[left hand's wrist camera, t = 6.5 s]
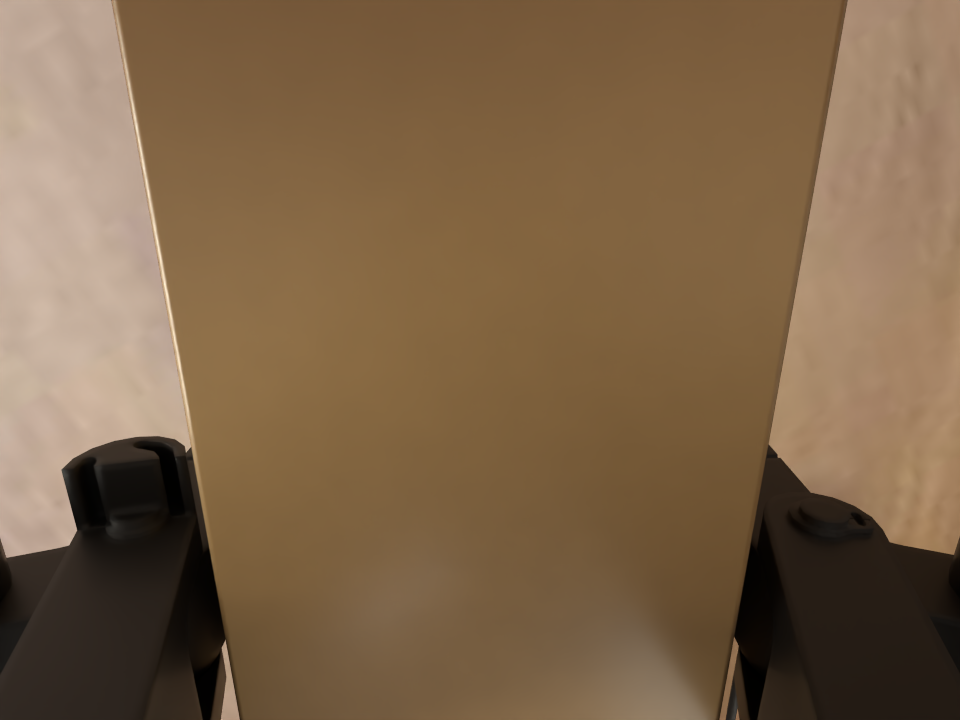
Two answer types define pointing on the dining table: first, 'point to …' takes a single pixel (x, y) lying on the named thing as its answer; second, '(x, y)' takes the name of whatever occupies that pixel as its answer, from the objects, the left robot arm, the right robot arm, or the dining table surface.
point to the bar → (479, 334)
